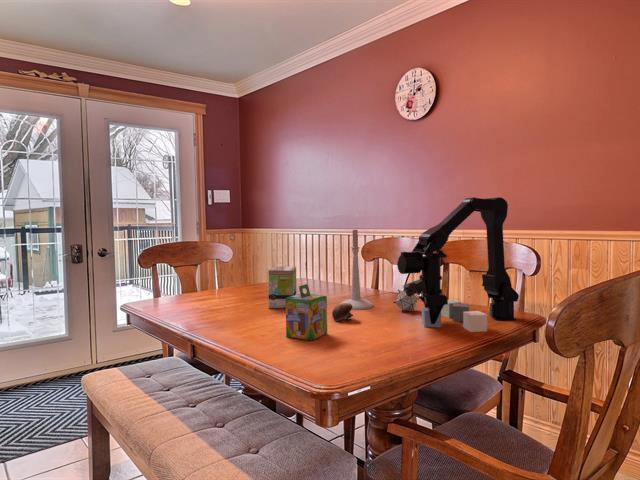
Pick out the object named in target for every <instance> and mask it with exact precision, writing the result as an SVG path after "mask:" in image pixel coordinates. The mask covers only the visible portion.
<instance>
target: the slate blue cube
mask: <svg viewBox="0 0 640 480" xmlns="http://www.w3.org/2000/svg"><path fill="white" fill-rule="evenodd" d="M421 325H423V327H424V328H442V315H441V312H440V314H439V316H438V318H437V320H436V322H435V324H431V321H430V315H429V309H428V308H425V307H421Z"/></svg>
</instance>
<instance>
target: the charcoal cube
mask: <svg viewBox="0 0 640 480" xmlns="http://www.w3.org/2000/svg"><path fill="white" fill-rule="evenodd" d="M468 311H470V303H462V302H461V303H453V318H452V322H459V323H460V322H461V323H463V312H468Z"/></svg>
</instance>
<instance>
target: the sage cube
mask: <svg viewBox="0 0 640 480" xmlns="http://www.w3.org/2000/svg"><path fill="white" fill-rule="evenodd" d="M453 303H461V304H462V302H461V301H459V300H454V299H448V304H447V305H444V306H443V308H442V310H441V317H442V316H443V317H445V318H448V319H451V318H452V319H453Z"/></svg>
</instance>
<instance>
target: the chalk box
mask: <svg viewBox="0 0 640 480" xmlns="http://www.w3.org/2000/svg"><path fill="white" fill-rule="evenodd" d="M298 288H299V289H298V290H299V294H296V295H294V296H290V297H287V298H285V302H286V308H285V331H286V332H285V333H286V335H285V337H286V338H290V337H291V338H290V339H292V338H293V339H300V340H306V341H314V340H316V339H318V338H320V337H324V336H325V334H326V335H327V334H328V300H327V299H328V296H327V295H322V294H321V295H320V294H314V293H311V292H310V288H309V285H308V283H306V284H302V285H299V286H298ZM303 290H306V292H305V293H304V292H303Z"/></svg>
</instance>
